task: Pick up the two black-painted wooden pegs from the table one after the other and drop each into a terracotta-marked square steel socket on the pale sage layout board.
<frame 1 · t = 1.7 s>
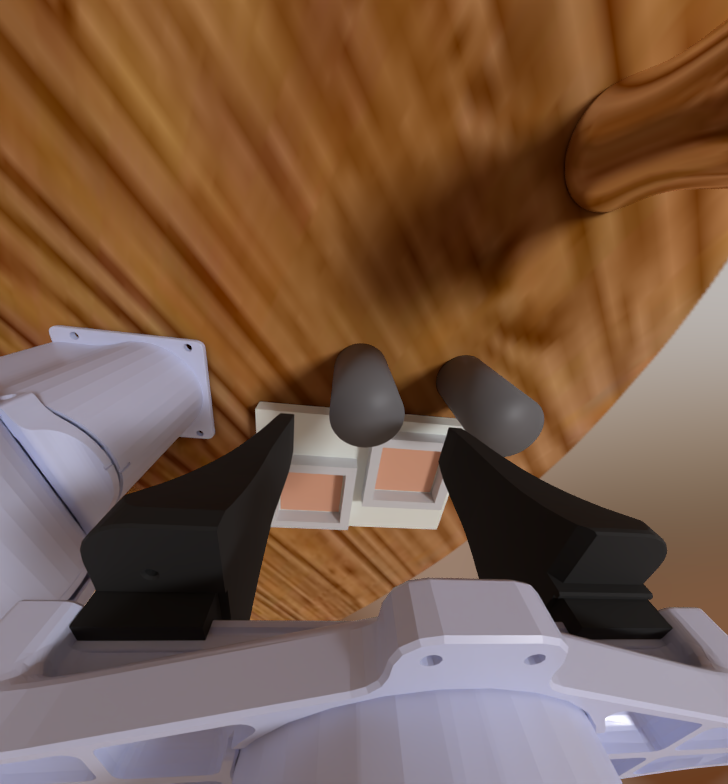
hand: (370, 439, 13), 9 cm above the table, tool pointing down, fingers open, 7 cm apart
peg 1: (360, 369, 21), on the table
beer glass: (613, 152, 16), on the table
peg 2: (461, 379, 22), on the table
layout board: (358, 468, 25), on the table
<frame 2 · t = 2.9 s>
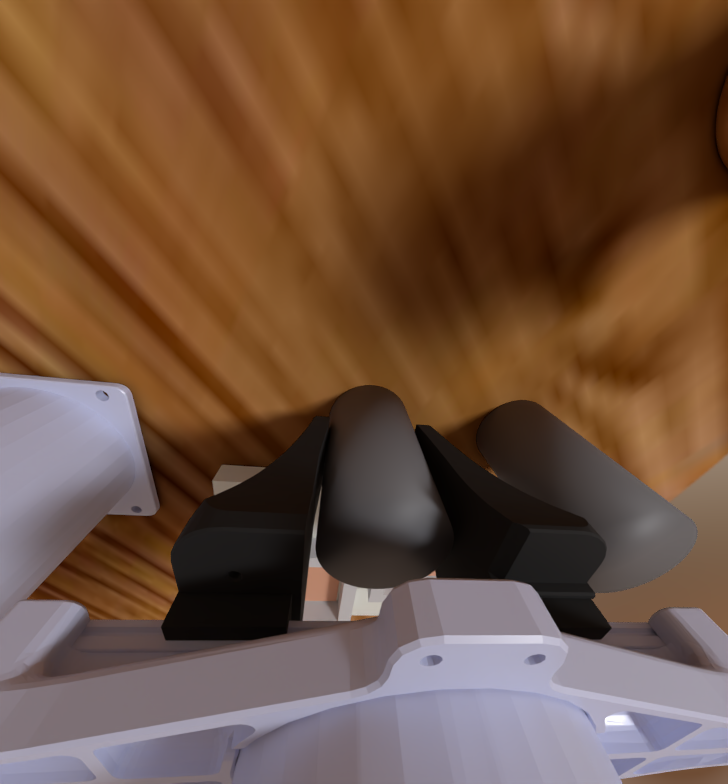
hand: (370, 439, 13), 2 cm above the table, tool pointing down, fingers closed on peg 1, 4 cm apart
peg 1: (368, 420, 14), on the table, touching gripper
peg 2: (512, 432, 15), on the table
layout board: (363, 544, 18), on the table
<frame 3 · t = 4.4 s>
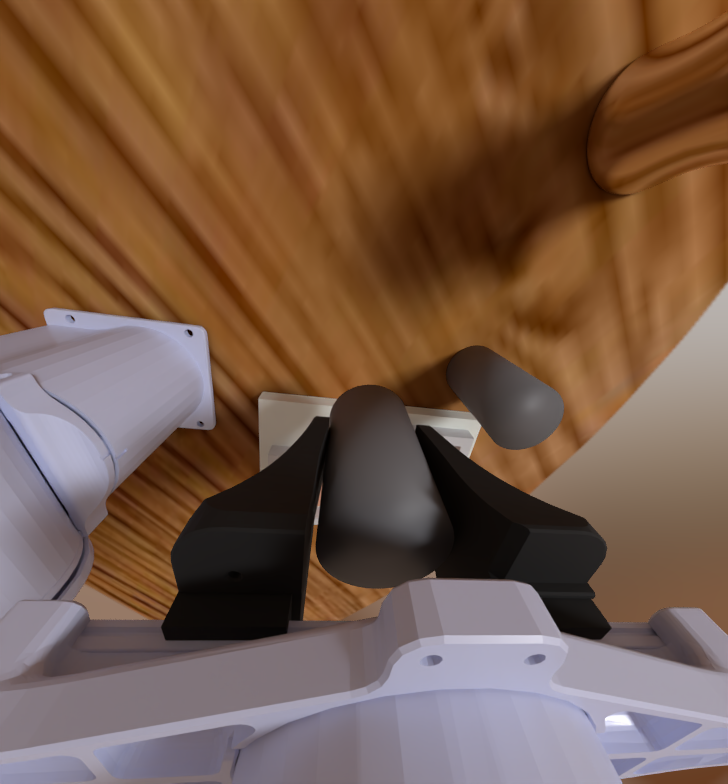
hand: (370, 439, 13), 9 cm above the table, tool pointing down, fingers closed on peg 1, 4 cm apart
peg 1: (368, 420, 14), point 7 cm above the table, touching gripper
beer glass: (638, 130, 15), on the table
peg 2: (472, 371, 21), on the table
layout board: (363, 463, 24), on the table
when the fingers open (5 cm above the table, at t = 6.1 s): peg 1 drops 2 cm, resting on layout board.
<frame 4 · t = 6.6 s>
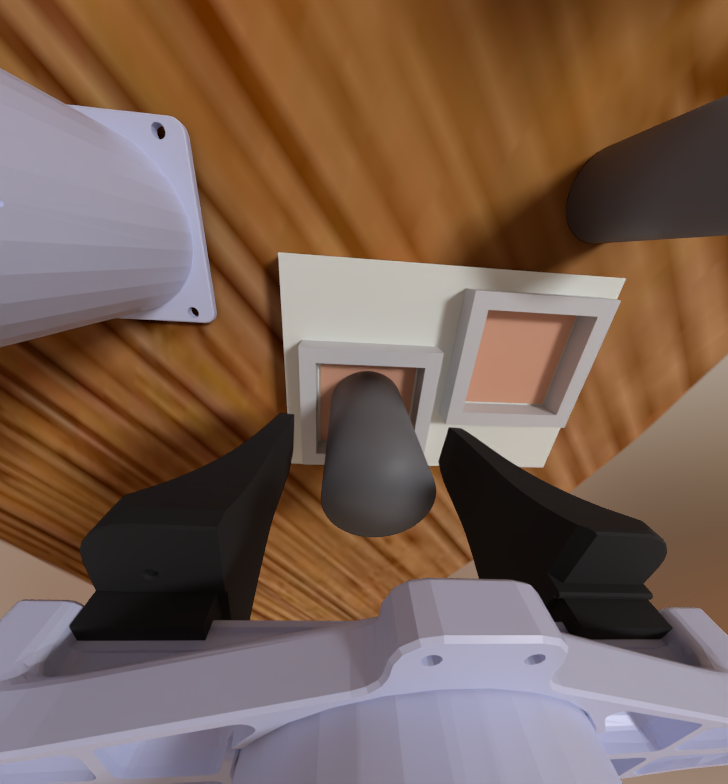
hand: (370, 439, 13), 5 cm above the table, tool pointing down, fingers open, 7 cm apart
peg 1: (366, 403, 16), point 1 cm above the table, touching layout board
peg 2: (608, 196, 13), on the table
layout board: (432, 374, 17), on the table
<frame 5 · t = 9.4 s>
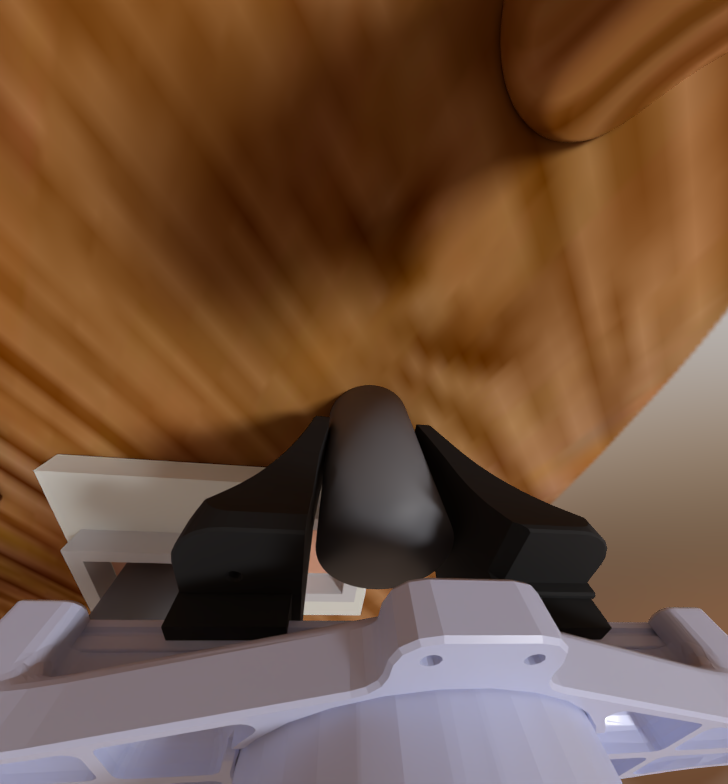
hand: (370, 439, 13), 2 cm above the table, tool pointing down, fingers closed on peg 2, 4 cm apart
peg 1: (162, 573, 17), point 1 cm above the table, touching layout board
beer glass: (591, 21, 9), on the table
peg 2: (368, 420, 14), on the table, touching gripper
layout board: (238, 539, 18), on the table
when the fingers open (5 cm above the table, at t = 12.3 s): peg 2 drops 2 cm, resting on layout board.
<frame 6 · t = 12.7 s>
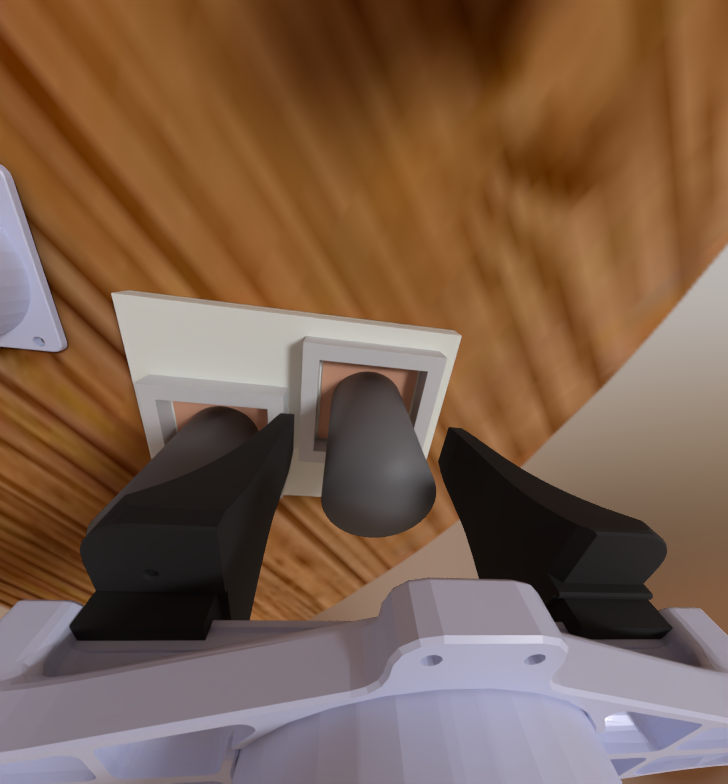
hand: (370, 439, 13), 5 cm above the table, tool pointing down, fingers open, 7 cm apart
peg 1: (225, 435, 16), point 1 cm above the table, touching layout board
peg 2: (366, 403, 16), point 1 cm above the table, touching layout board
layout board: (298, 409, 17), on the table
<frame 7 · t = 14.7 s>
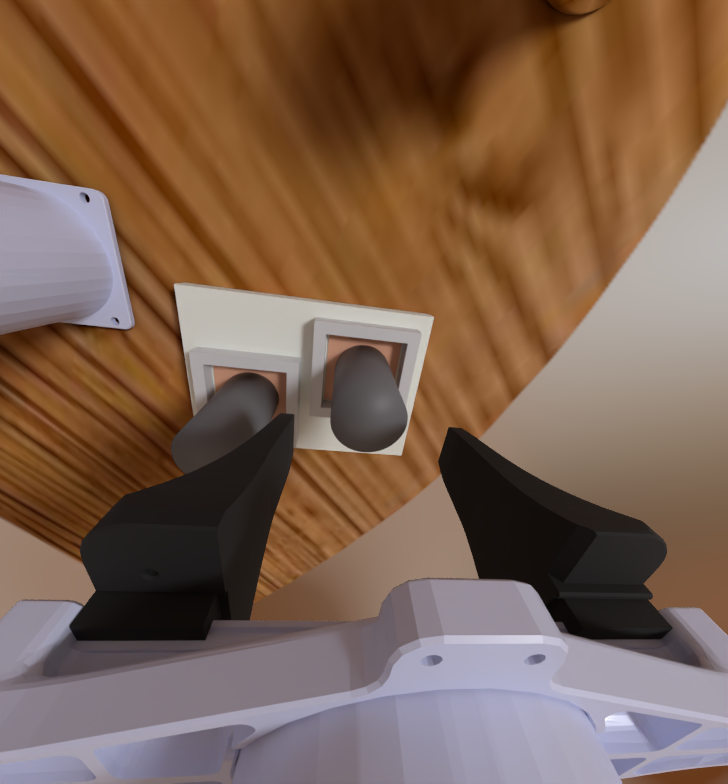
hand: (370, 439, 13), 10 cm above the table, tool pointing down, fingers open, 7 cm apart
peg 1: (252, 396, 21), point 1 cm above the table, touching layout board
peg 2: (361, 371, 21), point 1 cm above the table, touching layout board
layout board: (308, 377, 22), on the table
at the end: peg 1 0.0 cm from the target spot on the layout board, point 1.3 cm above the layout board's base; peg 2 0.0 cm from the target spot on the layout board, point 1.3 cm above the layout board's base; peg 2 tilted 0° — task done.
